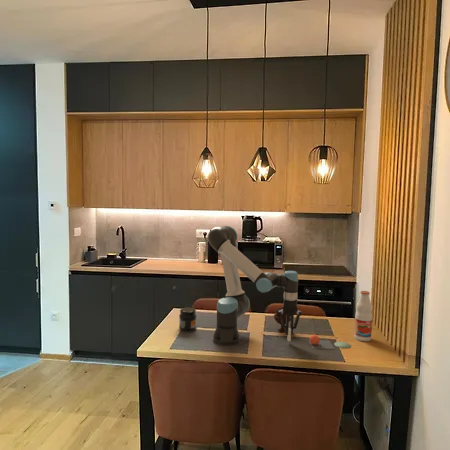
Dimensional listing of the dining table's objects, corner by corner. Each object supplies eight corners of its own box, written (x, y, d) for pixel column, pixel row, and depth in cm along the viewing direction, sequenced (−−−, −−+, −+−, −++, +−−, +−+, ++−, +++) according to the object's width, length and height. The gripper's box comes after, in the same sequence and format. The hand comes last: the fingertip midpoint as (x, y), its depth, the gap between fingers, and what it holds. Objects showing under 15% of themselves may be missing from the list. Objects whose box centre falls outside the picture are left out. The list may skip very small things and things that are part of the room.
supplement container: (199, 328, 233) (200, 309, 232) (188, 333, 224) (188, 313, 223) (187, 324, 239) (187, 306, 238) (175, 329, 230) (175, 310, 229)
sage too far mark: (336, 348, 207) (336, 347, 207) (332, 341, 216) (332, 341, 216) (353, 348, 207) (353, 348, 207) (348, 342, 216) (348, 341, 216)
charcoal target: (312, 348, 205) (312, 348, 205) (308, 340, 217) (308, 339, 217) (334, 349, 205) (334, 348, 205) (329, 340, 217) (329, 340, 217)
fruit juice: (366, 335, 227) (369, 289, 225) (374, 341, 218) (376, 293, 215) (351, 335, 226) (353, 289, 224) (358, 341, 217) (360, 293, 215)
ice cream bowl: (291, 334, 225) (292, 310, 224) (272, 333, 227) (273, 308, 226) (291, 328, 236) (292, 305, 234) (273, 327, 238) (274, 303, 237)
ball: (311, 347, 208) (310, 337, 208) (309, 343, 214) (308, 333, 213) (321, 345, 208) (320, 336, 208) (318, 342, 214) (317, 332, 213)
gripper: (279, 300, 206) (278, 342, 208) (303, 301, 206) (301, 343, 208) (277, 296, 213) (276, 337, 215) (300, 297, 213) (299, 338, 215)
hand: (288, 340), depth 211 cm, fingers closed
